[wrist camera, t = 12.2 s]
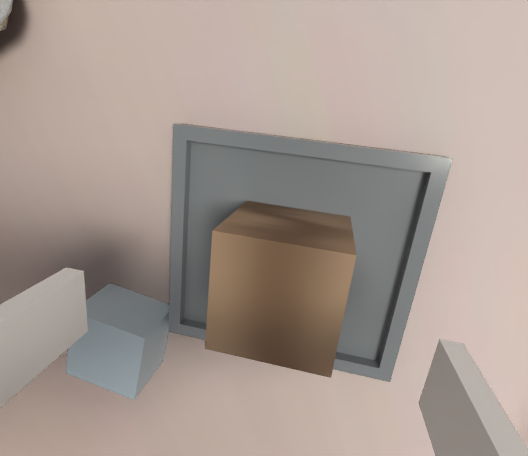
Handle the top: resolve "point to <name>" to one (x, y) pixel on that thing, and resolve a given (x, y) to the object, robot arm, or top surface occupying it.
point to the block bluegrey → (120, 341)
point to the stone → (5, 12)
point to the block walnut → (280, 285)
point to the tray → (315, 199)
